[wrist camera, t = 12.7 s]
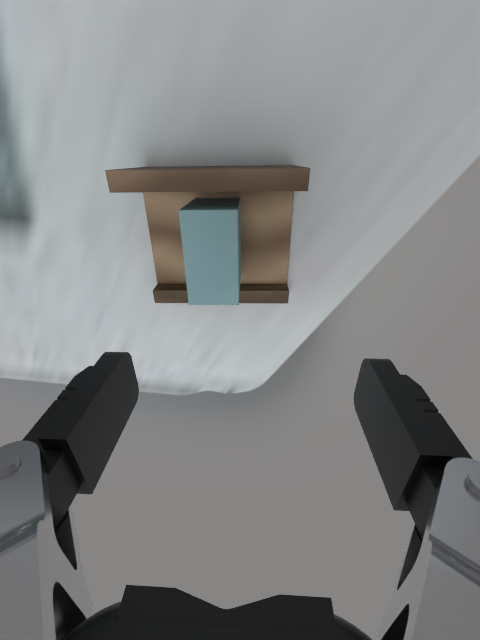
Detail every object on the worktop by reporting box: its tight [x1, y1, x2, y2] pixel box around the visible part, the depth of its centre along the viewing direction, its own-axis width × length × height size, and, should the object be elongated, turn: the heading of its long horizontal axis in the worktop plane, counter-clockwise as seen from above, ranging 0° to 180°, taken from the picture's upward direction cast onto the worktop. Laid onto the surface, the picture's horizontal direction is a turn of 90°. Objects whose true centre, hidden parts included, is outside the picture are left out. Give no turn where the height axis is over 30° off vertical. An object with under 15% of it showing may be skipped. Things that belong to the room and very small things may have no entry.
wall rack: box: [105, 165, 310, 303], centre depth 28 cm, size 14×15×9 cm
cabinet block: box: [179, 197, 241, 305], centre depth 27 cm, size 8×4×8 cm, turn 1°
